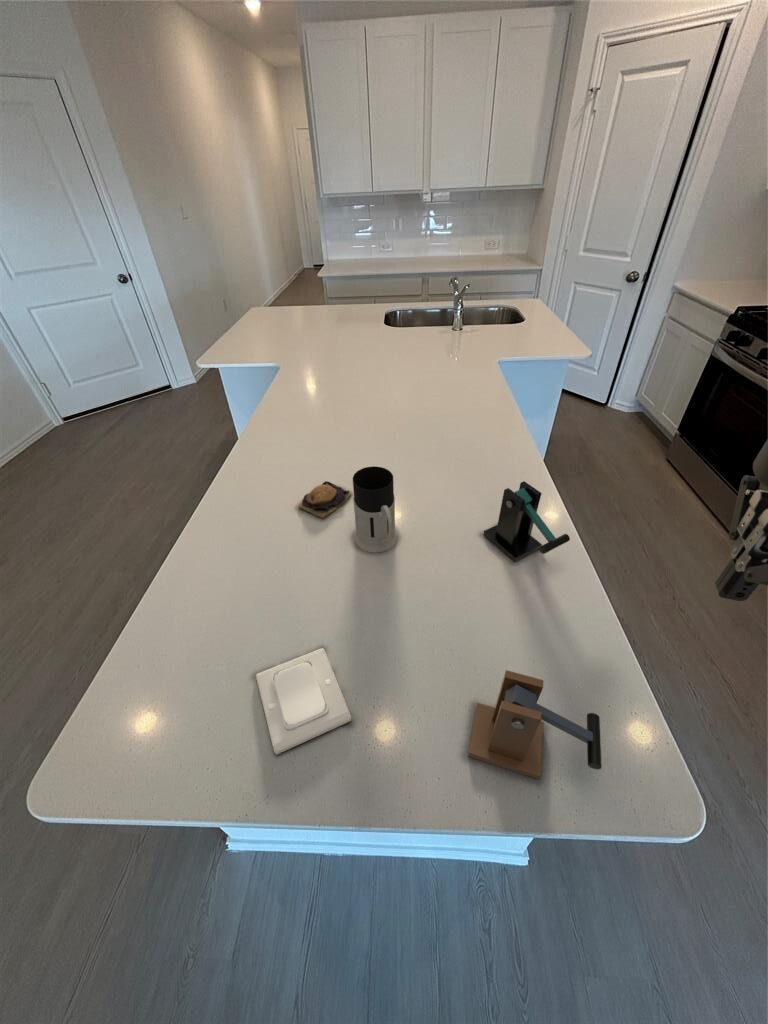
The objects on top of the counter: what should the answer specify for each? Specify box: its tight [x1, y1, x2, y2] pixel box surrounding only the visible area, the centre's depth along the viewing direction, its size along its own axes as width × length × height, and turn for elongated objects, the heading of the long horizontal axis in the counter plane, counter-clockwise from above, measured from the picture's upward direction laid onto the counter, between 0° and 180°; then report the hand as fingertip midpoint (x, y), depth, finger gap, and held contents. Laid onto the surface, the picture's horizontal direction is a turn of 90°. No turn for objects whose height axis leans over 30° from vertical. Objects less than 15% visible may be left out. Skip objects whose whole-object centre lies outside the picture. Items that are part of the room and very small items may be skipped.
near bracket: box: [467, 669, 545, 780], centre depth 55 cm, size 9×7×13 cm
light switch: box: [255, 647, 352, 755], centre depth 63 cm, size 11×4×13 cm
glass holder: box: [352, 466, 398, 554], centre depth 83 cm, size 9×14×15 cm, turn 18°
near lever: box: [504, 684, 603, 770], centre depth 52 cm, size 12×6×2 cm, turn 72°
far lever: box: [514, 488, 571, 555], centre depth 79 cm, size 12×6×2 cm, turn 31°
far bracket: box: [482, 481, 543, 563], centre depth 84 cm, size 9×7×13 cm
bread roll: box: [298, 480, 352, 520], centre depth 98 cm, size 11×8×4 cm
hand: (728, 593), depth 41 cm, fingers closed
